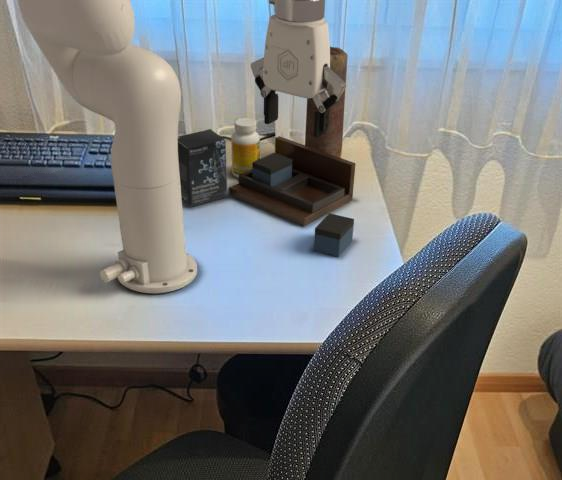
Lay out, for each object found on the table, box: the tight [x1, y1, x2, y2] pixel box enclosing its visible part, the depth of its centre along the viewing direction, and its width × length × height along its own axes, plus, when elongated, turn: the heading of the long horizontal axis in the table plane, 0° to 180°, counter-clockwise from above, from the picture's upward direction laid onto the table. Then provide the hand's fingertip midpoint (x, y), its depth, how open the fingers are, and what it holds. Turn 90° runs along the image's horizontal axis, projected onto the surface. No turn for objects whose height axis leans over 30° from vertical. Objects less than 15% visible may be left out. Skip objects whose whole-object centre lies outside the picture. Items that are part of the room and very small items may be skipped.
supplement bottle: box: [230, 117, 261, 179], centre depth 142 cm, size 5×5×10 cm
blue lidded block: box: [313, 212, 355, 258], centre depth 125 cm, size 6×4×4 cm
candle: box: [304, 46, 349, 158], centre depth 143 cm, size 8×7×20 cm
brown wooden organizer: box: [228, 135, 357, 227], centre depth 136 cm, size 14×18×7 cm
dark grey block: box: [252, 152, 292, 187], centre depth 138 cm, size 6×4×4 cm
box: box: [178, 128, 228, 208], centre depth 134 cm, size 8×6×11 cm
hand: (295, 128), depth 125 cm, fingers open, 9 cm apart
